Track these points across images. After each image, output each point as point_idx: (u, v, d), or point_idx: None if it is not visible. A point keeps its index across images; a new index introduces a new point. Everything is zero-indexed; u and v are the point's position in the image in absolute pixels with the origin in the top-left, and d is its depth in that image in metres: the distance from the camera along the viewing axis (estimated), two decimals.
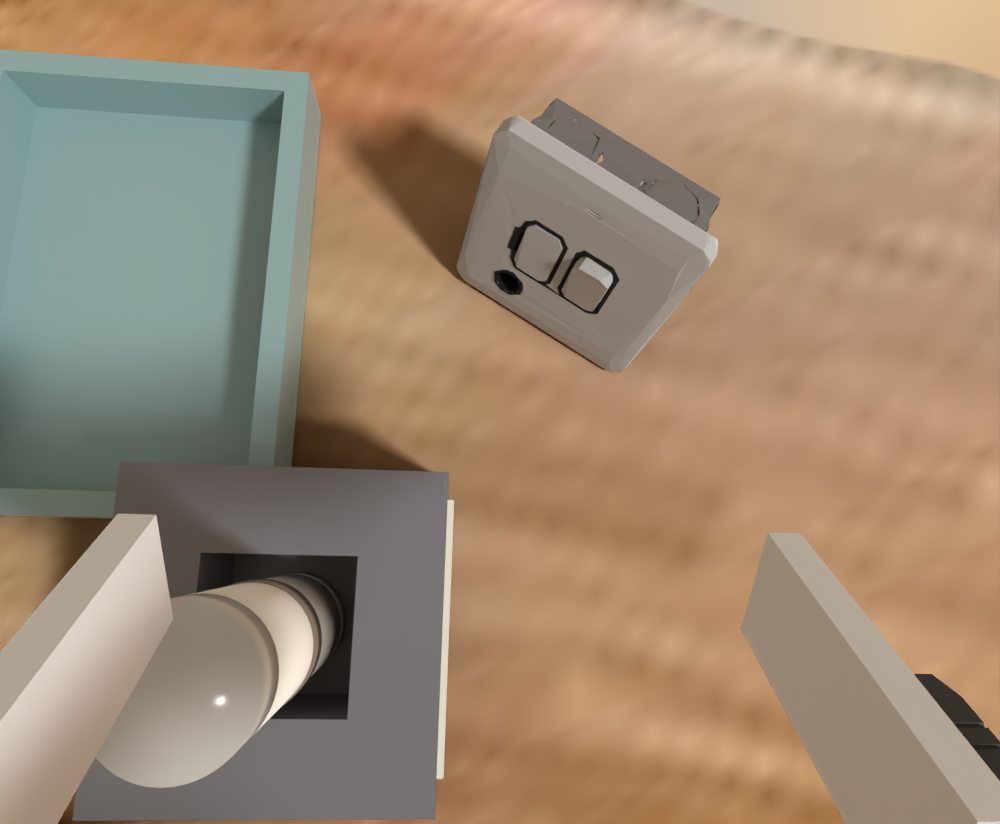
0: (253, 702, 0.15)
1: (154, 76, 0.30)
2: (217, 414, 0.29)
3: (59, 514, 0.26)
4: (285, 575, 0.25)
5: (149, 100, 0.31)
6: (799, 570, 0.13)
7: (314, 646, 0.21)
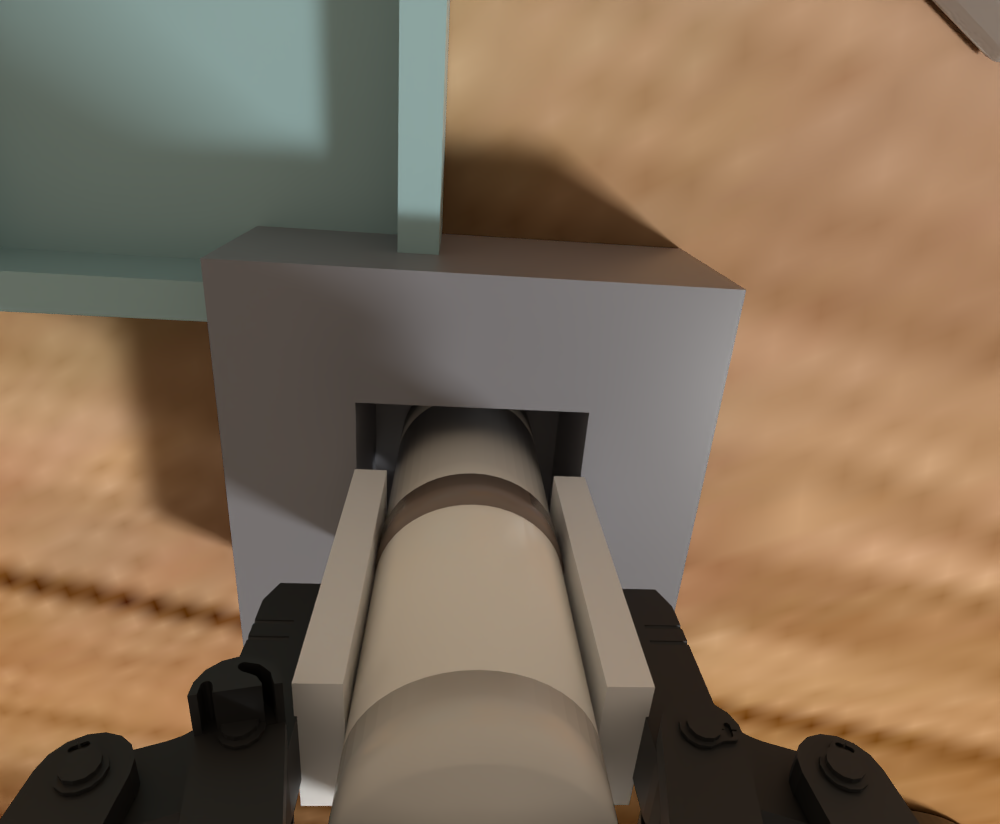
0: None
1: None
2: (319, 125, 0.17)
3: (115, 314, 0.17)
4: (472, 417, 0.17)
5: None
6: (565, 505, 0.15)
7: None
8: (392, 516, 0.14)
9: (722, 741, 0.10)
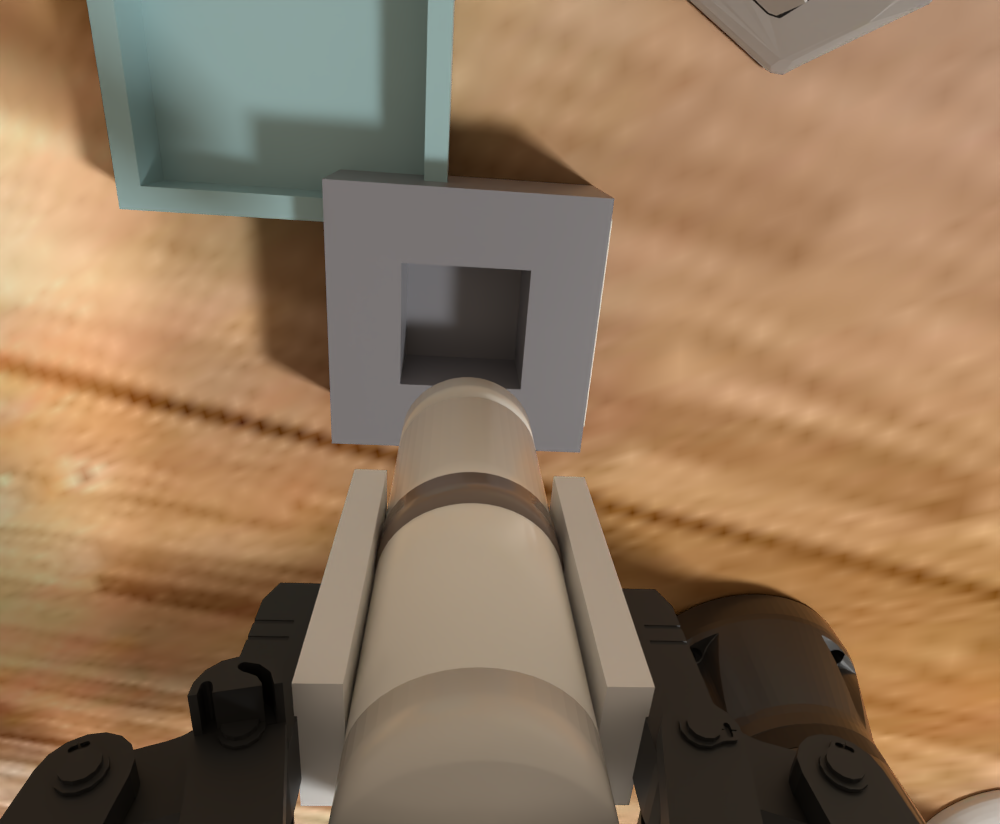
0: None
1: None
2: (377, 109, 0.30)
3: (264, 216, 0.29)
4: (471, 416, 0.17)
5: None
6: (565, 505, 0.15)
7: None
8: (392, 515, 0.14)
9: (722, 741, 0.10)
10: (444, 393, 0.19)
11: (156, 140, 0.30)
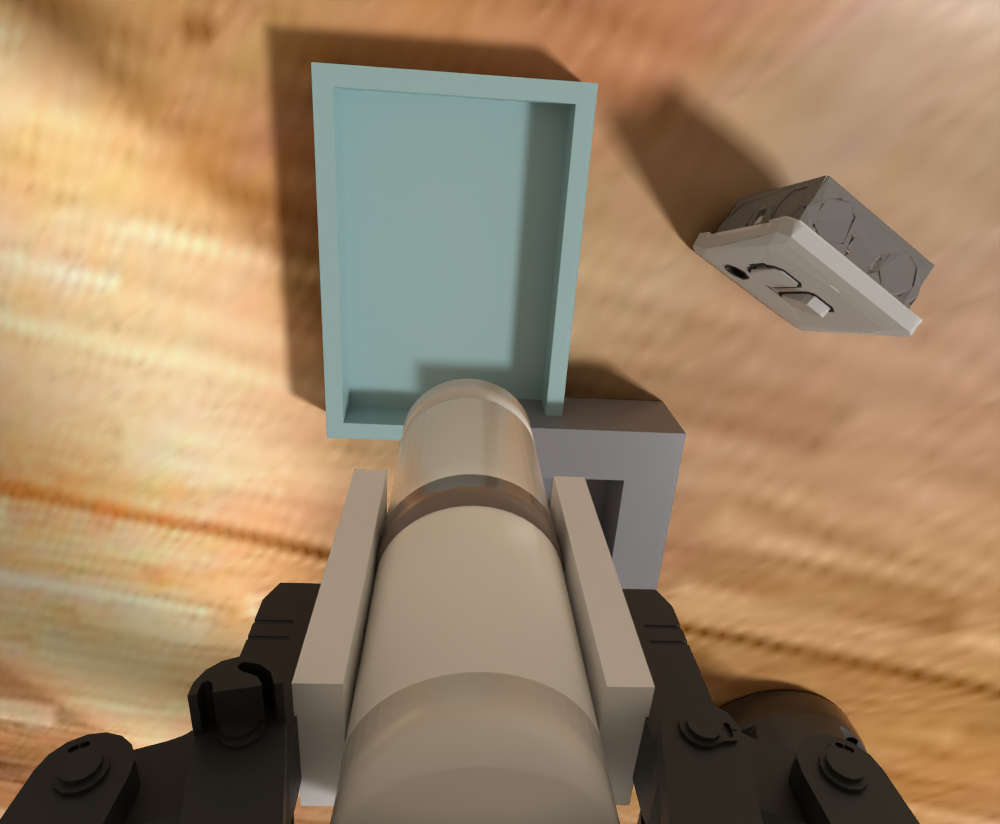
0: None
1: (462, 89, 0.33)
2: (508, 358, 0.41)
3: None
4: (472, 418, 0.17)
5: None
6: (565, 505, 0.15)
7: None
8: (393, 517, 0.14)
9: (722, 740, 0.10)
10: (444, 394, 0.19)
11: (349, 383, 0.41)
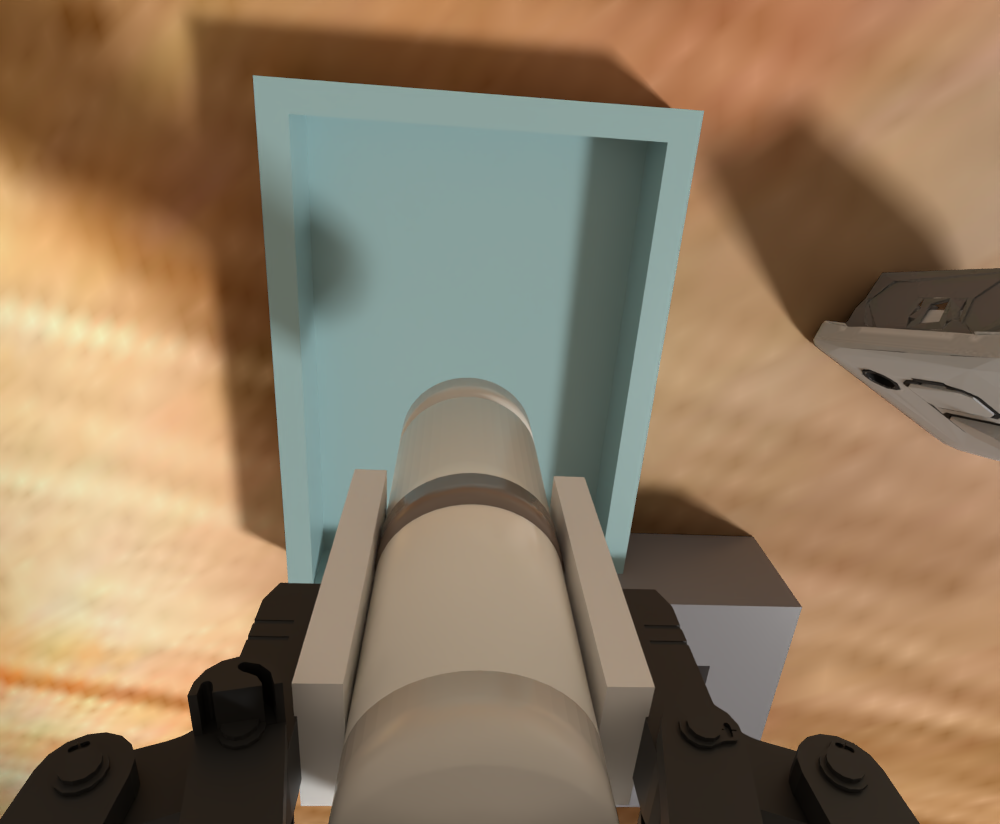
0: None
1: (493, 120, 0.21)
2: (546, 487, 0.29)
3: None
4: (471, 416, 0.17)
5: None
6: (565, 505, 0.15)
7: None
8: (392, 516, 0.14)
9: (722, 741, 0.10)
10: (444, 393, 0.19)
11: (322, 521, 0.29)
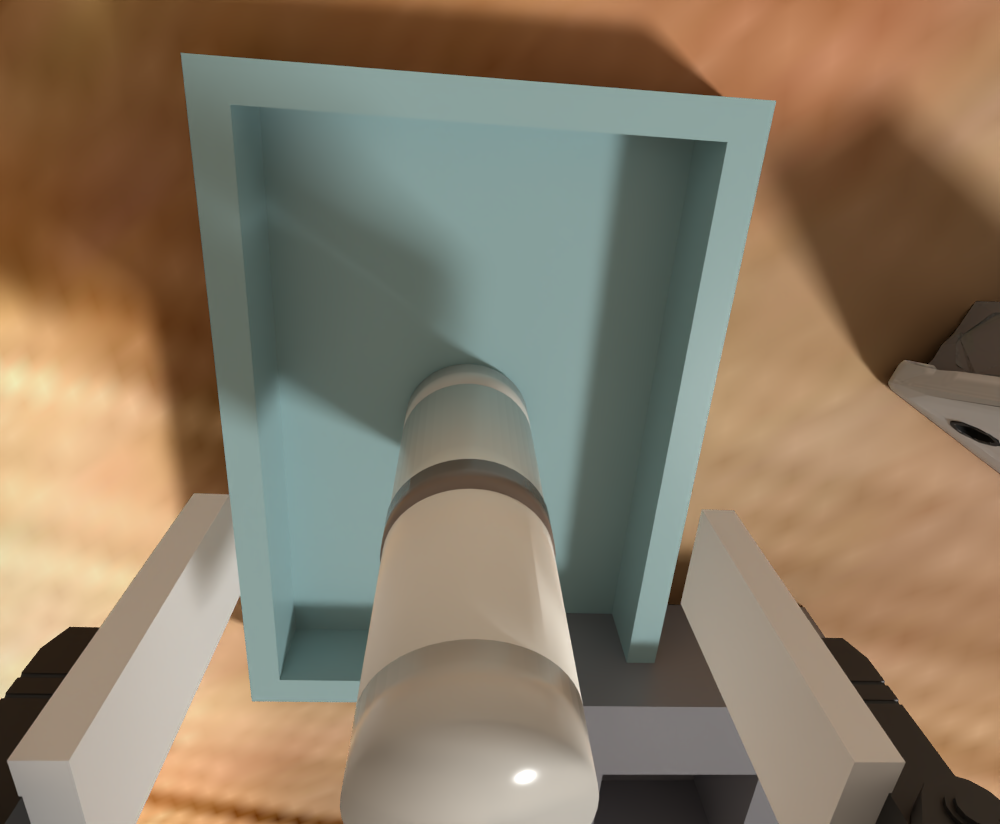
0: (583, 815, 0.11)
1: (500, 112, 0.16)
2: (561, 555, 0.25)
3: None
4: (471, 403, 0.19)
5: None
6: (726, 543, 0.14)
7: None
8: (397, 498, 0.16)
9: None
10: (445, 379, 0.20)
11: (292, 598, 0.24)
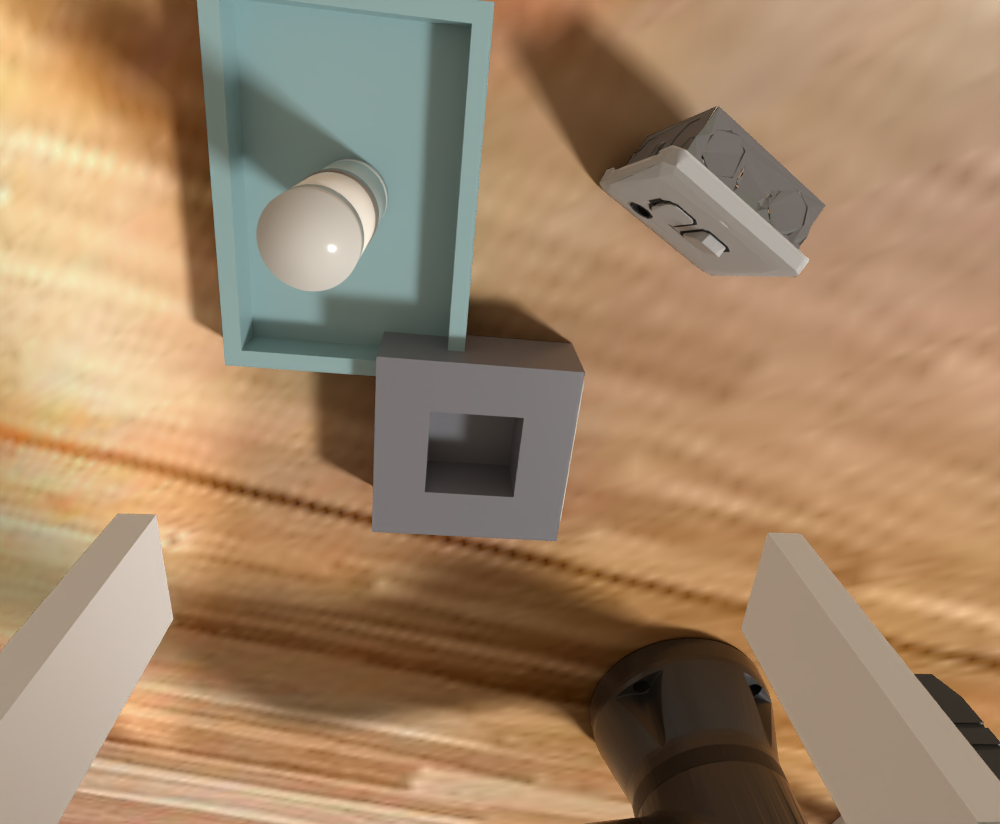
0: (355, 251, 0.27)
1: (354, 2, 0.32)
2: (414, 292, 0.41)
3: (330, 371, 0.40)
4: (346, 163, 0.35)
5: (342, 10, 0.33)
6: (799, 570, 0.13)
7: (376, 218, 0.32)
8: None
9: None
10: (337, 161, 0.36)
11: (250, 311, 0.40)
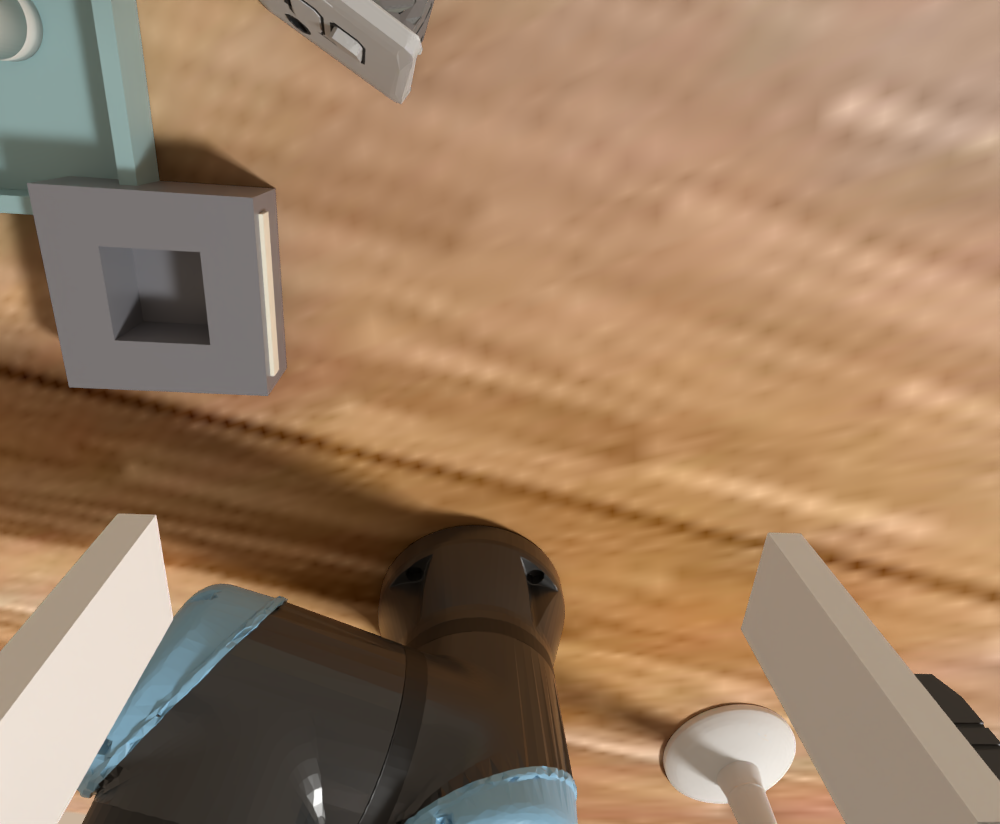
0: None
1: None
2: (92, 130, 0.39)
3: (1, 211, 0.39)
4: None
5: None
6: (799, 570, 0.13)
7: None
8: None
9: None
10: None
11: None
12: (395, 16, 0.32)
